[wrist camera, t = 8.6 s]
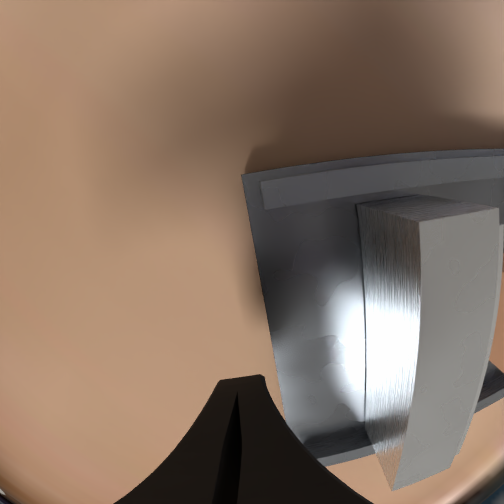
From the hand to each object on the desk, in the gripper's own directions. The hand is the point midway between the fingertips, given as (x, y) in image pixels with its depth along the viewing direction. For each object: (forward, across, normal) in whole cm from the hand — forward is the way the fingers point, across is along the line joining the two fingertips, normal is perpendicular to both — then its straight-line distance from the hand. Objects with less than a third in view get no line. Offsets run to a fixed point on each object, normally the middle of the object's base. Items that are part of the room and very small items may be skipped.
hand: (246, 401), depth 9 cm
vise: (+3, -10, 0) cm, 11 cm away
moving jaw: (+2, -6, 0) cm, 6 cm away
